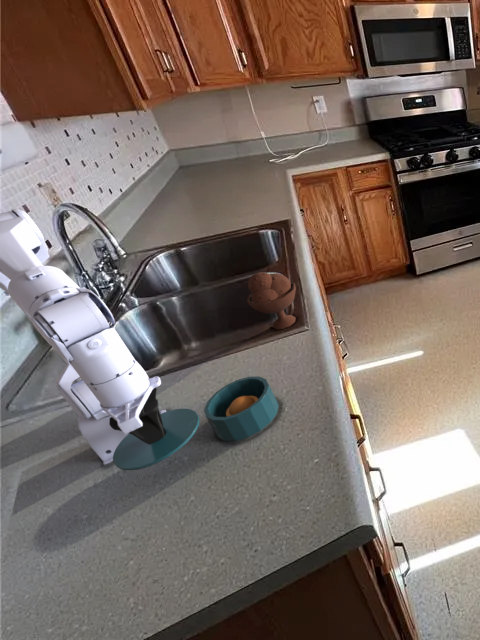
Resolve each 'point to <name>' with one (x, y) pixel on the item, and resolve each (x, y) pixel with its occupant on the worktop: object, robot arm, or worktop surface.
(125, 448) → the lid
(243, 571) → the worktop surface
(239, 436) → the pot
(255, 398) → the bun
